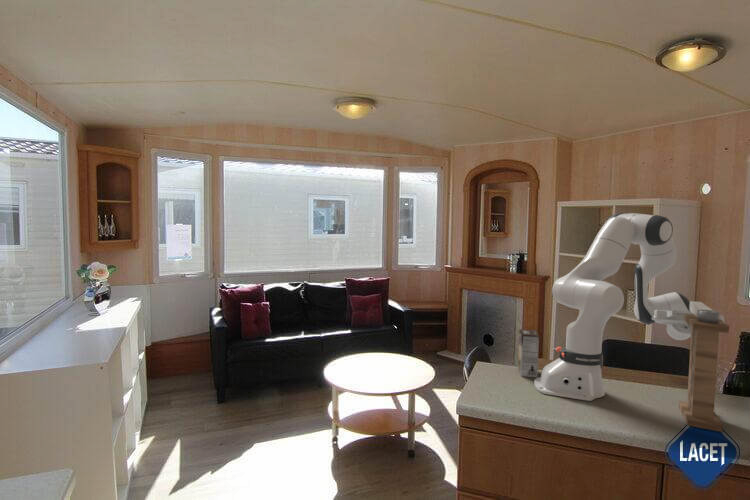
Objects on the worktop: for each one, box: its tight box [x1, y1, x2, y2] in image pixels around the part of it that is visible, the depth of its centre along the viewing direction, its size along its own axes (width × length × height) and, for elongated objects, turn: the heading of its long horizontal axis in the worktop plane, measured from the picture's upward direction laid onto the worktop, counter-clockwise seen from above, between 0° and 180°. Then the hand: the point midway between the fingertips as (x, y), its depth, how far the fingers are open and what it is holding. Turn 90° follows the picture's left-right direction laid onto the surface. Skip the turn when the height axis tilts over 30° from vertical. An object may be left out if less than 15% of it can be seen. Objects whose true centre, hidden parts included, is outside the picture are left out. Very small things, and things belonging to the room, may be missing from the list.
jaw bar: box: [689, 300, 720, 323], centre depth 130 cm, size 20×5×3 cm, turn 153°
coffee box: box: [517, 328, 540, 378], centre depth 165 cm, size 9×6×16 cm
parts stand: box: [678, 314, 730, 433], centre depth 127 cm, size 14×8×30 cm, turn 153°
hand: (691, 313), depth 146 cm, fingers open, 8 cm apart
